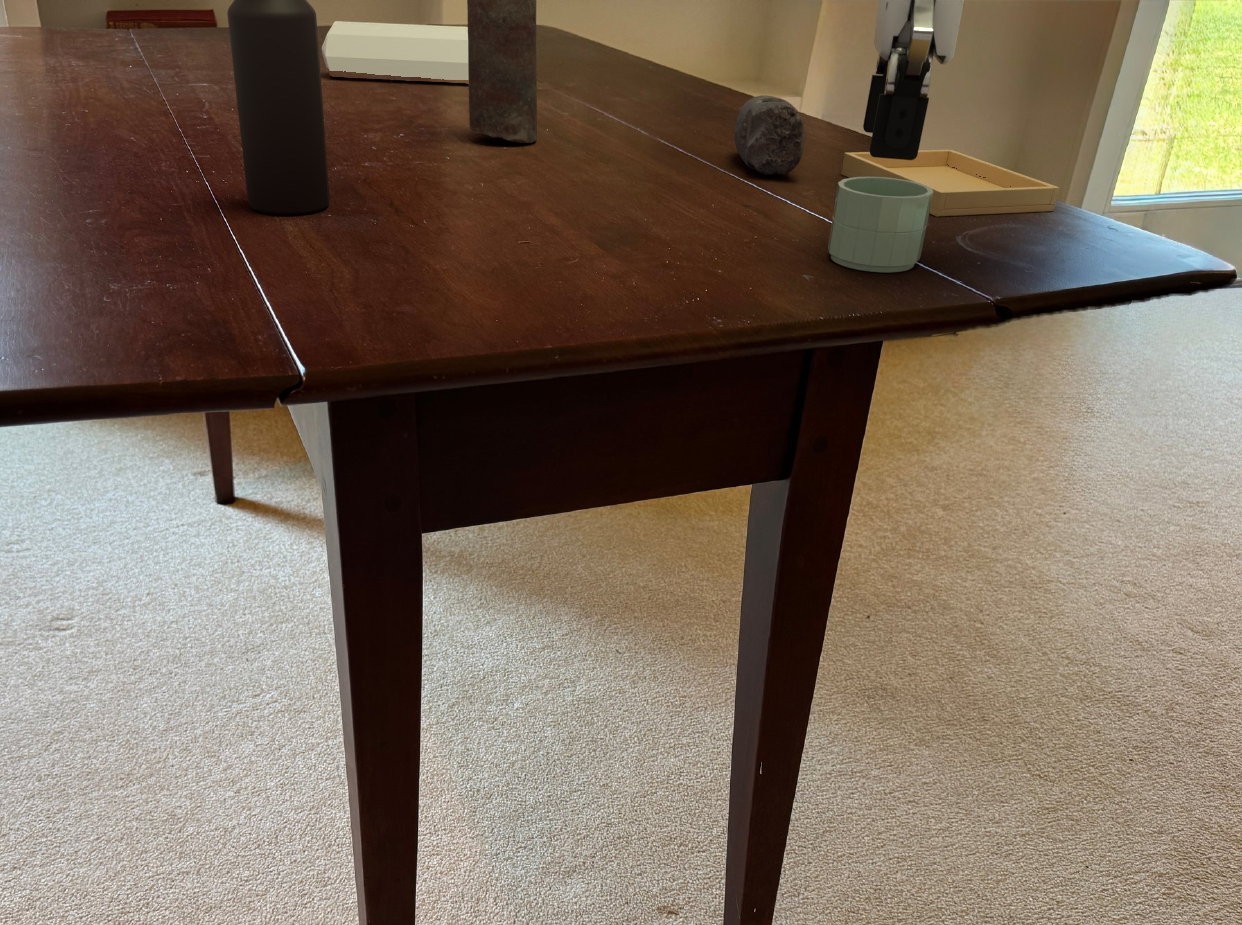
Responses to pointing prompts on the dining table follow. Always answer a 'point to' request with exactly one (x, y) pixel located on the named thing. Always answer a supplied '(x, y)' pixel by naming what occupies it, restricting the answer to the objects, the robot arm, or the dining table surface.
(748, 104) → the perforated stone tool
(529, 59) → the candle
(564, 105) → the dining table surface
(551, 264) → the dining table surface
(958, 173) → the serving tray
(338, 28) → the white chamfered bar
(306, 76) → the bottle
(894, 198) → the mint green planter pot
